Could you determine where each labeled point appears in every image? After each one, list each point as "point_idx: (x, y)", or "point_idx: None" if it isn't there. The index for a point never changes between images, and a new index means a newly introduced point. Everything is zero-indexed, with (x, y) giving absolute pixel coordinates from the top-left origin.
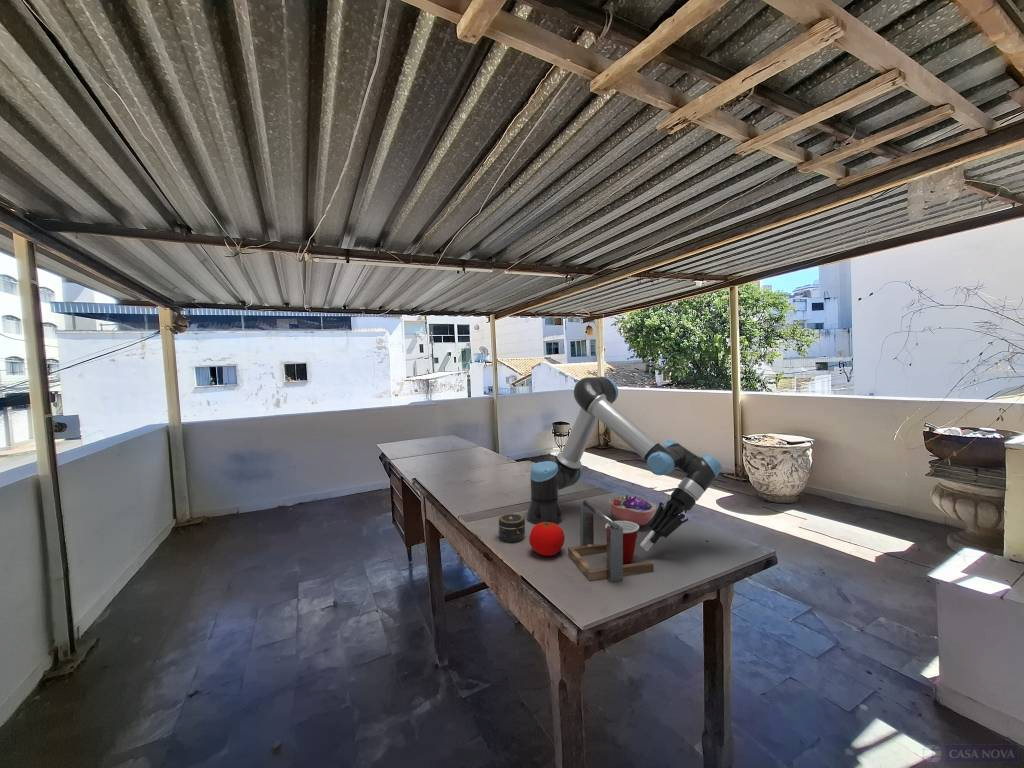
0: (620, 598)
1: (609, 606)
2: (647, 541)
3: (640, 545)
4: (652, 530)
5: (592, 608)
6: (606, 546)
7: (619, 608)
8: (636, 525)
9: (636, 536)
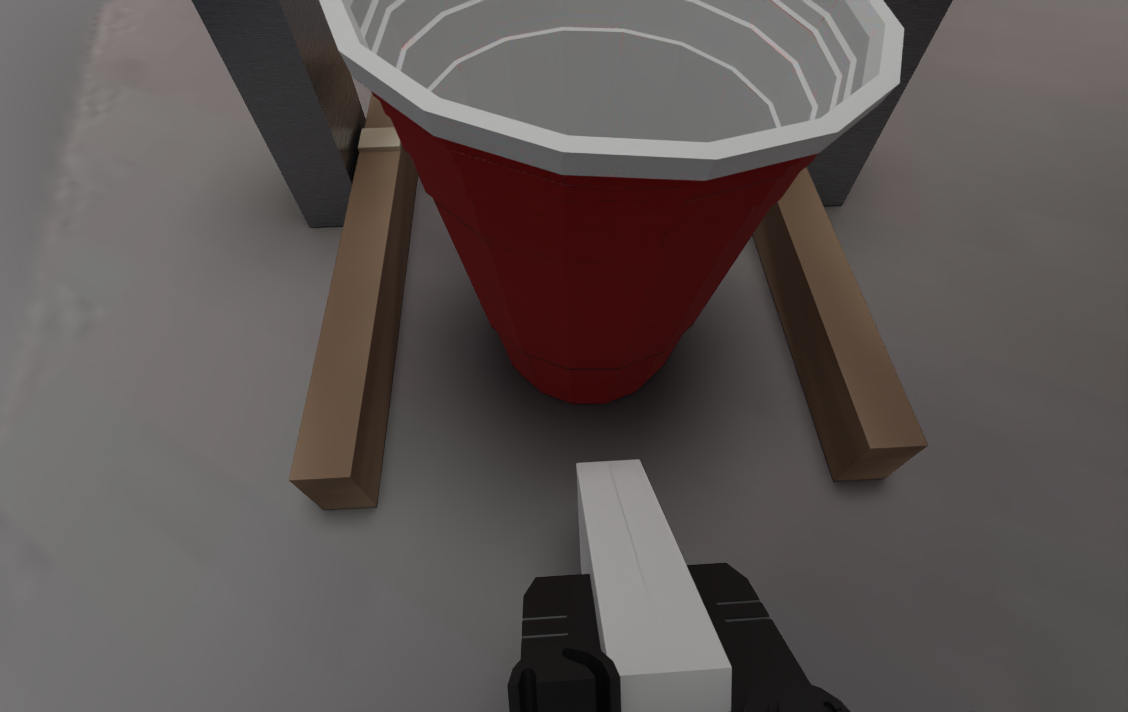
0: (158, 154)
1: (137, 96)
2: (585, 530)
3: (620, 461)
4: (692, 667)
5: (173, 45)
6: (784, 244)
7: (90, 123)
8: (594, 145)
9: (468, 219)
